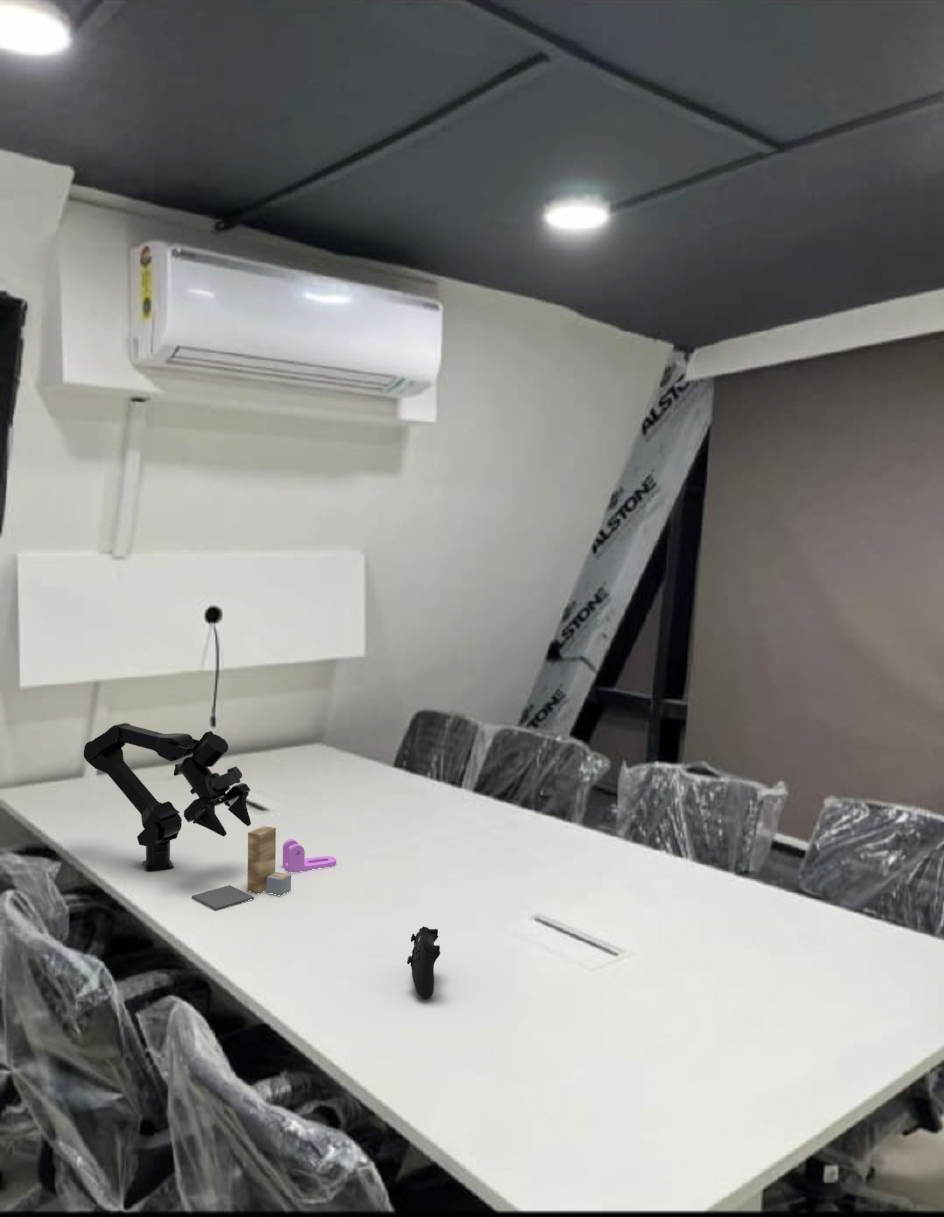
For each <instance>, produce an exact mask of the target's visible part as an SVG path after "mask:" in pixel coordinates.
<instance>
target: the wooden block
mask: <svg viewBox="0 0 944 1217" xmlns="http://www.w3.org/2000/svg"><path fill="white" fill-rule="evenodd" d="M276 836H277V827H271V826H265V825H263V826H260V827H257V828H255V829H253V830H250V831H249V832H247V888H246V889H247V891H246V892H249V891H251V892H250V893H253V892H255V893H254V894H258V893H260V894H262V893H264V892H266V891H267V877H268V876H270V875H272V874H274V873H276V856H277V855H276V853H277V852H276V851H277V850H276V849H277V848H276V846H277V845H276V844H277V841H276V840H277V837H276ZM265 890H266V891H265ZM263 891H264V892H263ZM261 892H262V893H261Z"/></svg>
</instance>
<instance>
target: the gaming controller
mask: <svg viewBox="0 0 944 1217" xmlns="http://www.w3.org/2000/svg"><path fill="white" fill-rule="evenodd" d="M438 939H439V929H437V928H429V927H427V926H422V927H420V928H419V930H418V932H417V933H416V935H415V933H412V934H411V938H410V943H413V949H412V950H411V955H409V956H408V957H407V961H406V963H407V965H410V968H411V976H412V981H413V985H414V989H415V992H416V993H417V995H418V996H419V997H420V998H421V999H423V1000H428V999H430V998H431V997H432V996H433V994H434V988H435V976H434V975H435V974H434V973H435V972H434V971H435V970H434V969H435V963H436V961H437V959H438V958H439V956H440V955H441V951H440V949H441V946H440V945H439V944H437V945H435V942H436V941H437V940H438Z"/></svg>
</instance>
